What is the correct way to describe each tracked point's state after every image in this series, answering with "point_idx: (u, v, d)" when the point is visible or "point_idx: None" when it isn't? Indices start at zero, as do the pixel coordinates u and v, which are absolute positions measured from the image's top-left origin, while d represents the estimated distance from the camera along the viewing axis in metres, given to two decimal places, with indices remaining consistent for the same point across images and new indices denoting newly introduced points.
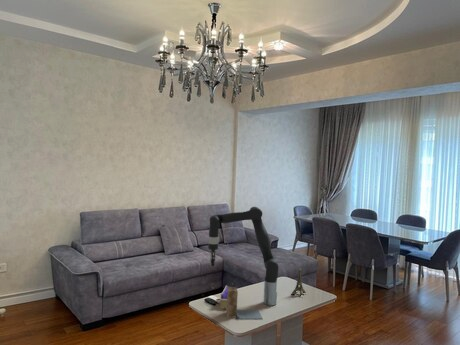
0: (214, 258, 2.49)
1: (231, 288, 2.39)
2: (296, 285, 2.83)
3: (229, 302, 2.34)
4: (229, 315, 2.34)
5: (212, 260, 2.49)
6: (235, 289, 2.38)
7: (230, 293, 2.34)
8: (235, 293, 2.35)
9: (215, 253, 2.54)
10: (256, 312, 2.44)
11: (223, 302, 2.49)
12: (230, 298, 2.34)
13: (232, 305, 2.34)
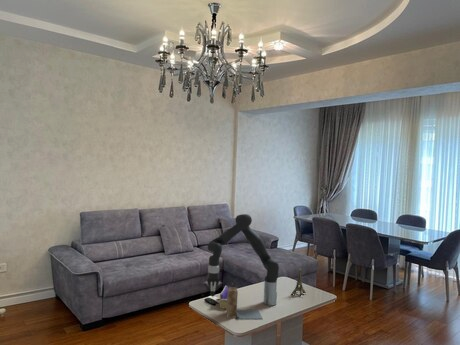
0: None
1: (231, 288, 2.39)
2: (296, 285, 2.83)
3: (229, 302, 2.34)
4: (229, 315, 2.34)
5: (217, 289, 2.37)
6: (235, 289, 2.38)
7: (230, 293, 2.34)
8: (235, 293, 2.35)
9: None
10: (256, 312, 2.44)
11: (222, 302, 2.49)
12: (230, 298, 2.34)
13: (232, 305, 2.34)
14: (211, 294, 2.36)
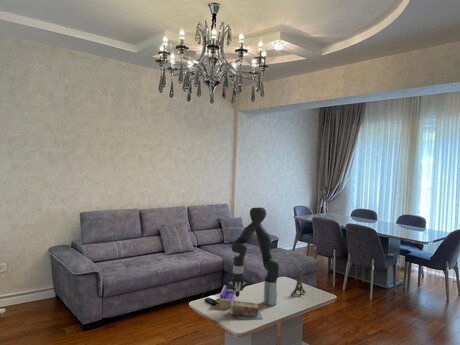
0: None
1: None
2: (296, 285, 2.83)
3: (247, 307, 2.36)
4: (234, 307, 2.35)
5: (242, 289, 2.39)
6: None
7: (255, 309, 2.36)
8: (255, 314, 2.36)
9: None
10: None
11: (222, 302, 2.49)
12: (251, 309, 2.36)
13: (243, 310, 2.35)
14: (236, 294, 2.38)
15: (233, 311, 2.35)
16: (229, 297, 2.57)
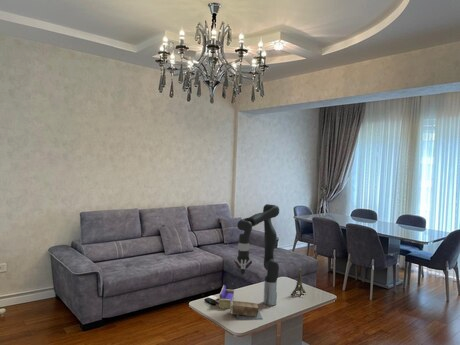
0: None
1: None
2: (296, 285, 2.83)
3: (247, 307, 2.36)
4: (234, 307, 2.35)
5: (247, 267, 2.38)
6: None
7: (255, 309, 2.36)
8: (255, 314, 2.36)
9: None
10: None
11: (222, 302, 2.50)
12: (251, 309, 2.36)
13: (243, 310, 2.35)
14: (241, 272, 2.38)
15: (233, 311, 2.35)
16: (228, 297, 2.57)
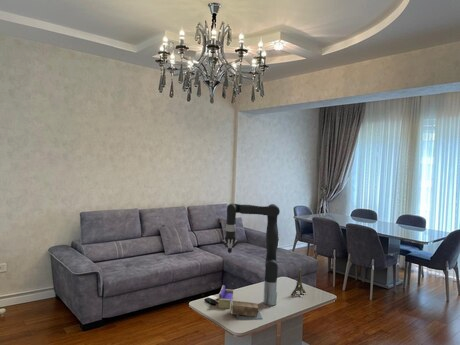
0: None
1: None
2: (296, 285, 2.83)
3: (247, 307, 2.36)
4: (234, 307, 2.35)
5: (234, 246, 2.61)
6: None
7: (255, 309, 2.36)
8: (255, 314, 2.36)
9: None
10: None
11: (221, 302, 2.50)
12: (251, 309, 2.36)
13: (243, 310, 2.35)
14: (228, 251, 2.61)
15: (233, 311, 2.35)
16: (228, 297, 2.57)
